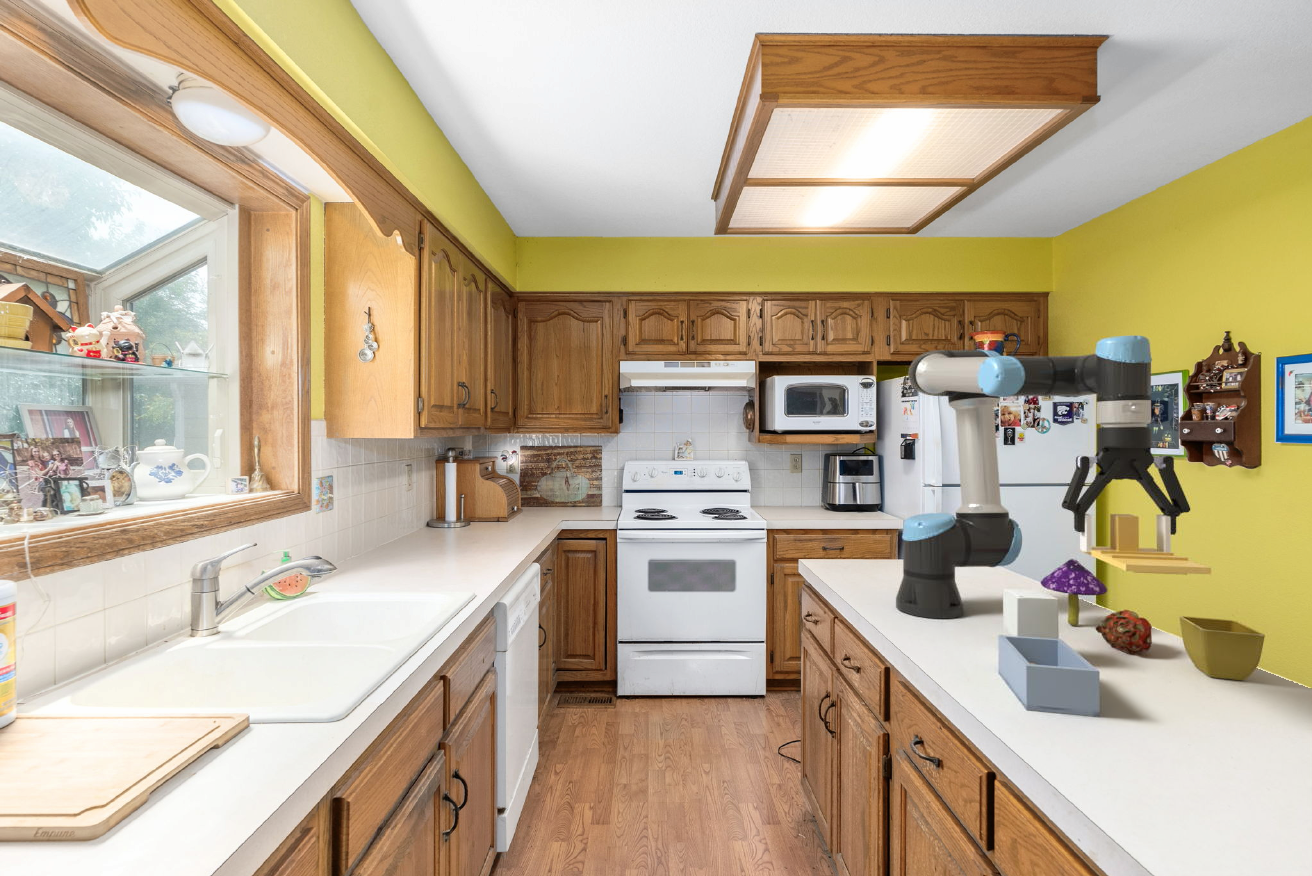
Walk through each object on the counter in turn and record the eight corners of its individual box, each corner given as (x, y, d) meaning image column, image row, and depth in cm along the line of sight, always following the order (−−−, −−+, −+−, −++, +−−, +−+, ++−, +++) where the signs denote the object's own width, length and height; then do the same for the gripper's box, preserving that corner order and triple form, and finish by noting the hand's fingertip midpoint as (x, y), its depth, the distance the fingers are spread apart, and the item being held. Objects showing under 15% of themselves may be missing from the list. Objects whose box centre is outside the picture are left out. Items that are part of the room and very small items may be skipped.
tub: (998, 673, 110) (998, 634, 110) (1061, 678, 108) (1061, 638, 108) (1026, 709, 96) (1026, 665, 96) (1099, 716, 93) (1099, 671, 93)
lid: (1082, 554, 110) (1081, 512, 110) (1153, 557, 107) (1153, 514, 107) (1126, 574, 94) (1125, 525, 94) (1211, 578, 92) (1210, 527, 92)
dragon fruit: (1130, 668, 116) (1114, 656, 127) (1174, 646, 114) (1154, 636, 125) (1096, 627, 119) (1084, 619, 130) (1139, 605, 117) (1123, 599, 128)
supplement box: (1060, 666, 113) (1059, 599, 113) (1016, 664, 115) (1016, 597, 115) (1043, 652, 120) (1043, 589, 120) (1002, 650, 122) (1002, 587, 122)
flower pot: (1236, 668, 112) (1236, 619, 112) (1266, 687, 104) (1266, 634, 103) (1178, 662, 115) (1178, 615, 115) (1202, 680, 106) (1202, 629, 106)
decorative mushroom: (1039, 628, 135) (1039, 561, 135) (1041, 614, 145) (1041, 551, 145) (1109, 638, 128) (1109, 567, 128) (1106, 622, 139) (1105, 557, 138)
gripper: (1055, 426, 105) (1056, 553, 105) (1218, 424, 99) (1218, 559, 100) (1039, 427, 113) (1040, 545, 113) (1190, 425, 107) (1191, 550, 107)
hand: (1124, 552), depth 106 cm, fingers closed on lid, 11 cm apart
